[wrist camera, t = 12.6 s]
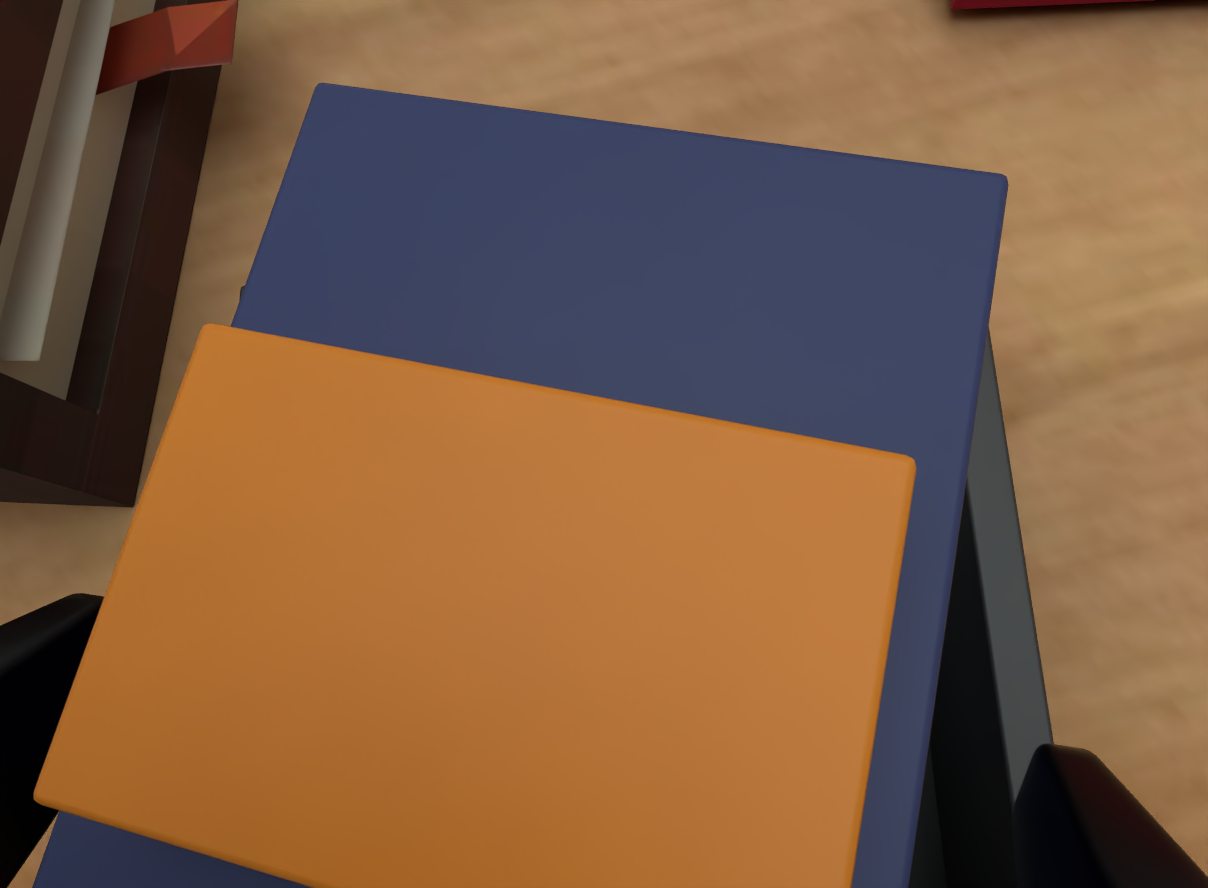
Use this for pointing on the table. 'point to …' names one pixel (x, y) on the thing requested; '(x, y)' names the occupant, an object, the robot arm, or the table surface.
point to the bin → (982, 679)
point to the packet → (544, 521)
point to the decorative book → (94, 228)
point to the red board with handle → (1022, 3)
